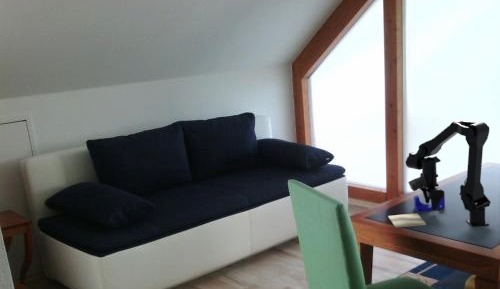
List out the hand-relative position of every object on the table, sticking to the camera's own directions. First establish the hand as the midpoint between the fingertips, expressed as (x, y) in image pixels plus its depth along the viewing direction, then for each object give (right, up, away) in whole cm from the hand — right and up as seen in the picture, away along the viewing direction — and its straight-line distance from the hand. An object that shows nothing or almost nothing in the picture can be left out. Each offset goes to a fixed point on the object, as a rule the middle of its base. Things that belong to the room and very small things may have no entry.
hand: (430, 206), depth 219 cm
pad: (-13, -5, -9) cm, 16 cm away
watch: (+20, +2, +6) cm, 21 cm away
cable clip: (0, -2, +1) cm, 2 cm away
